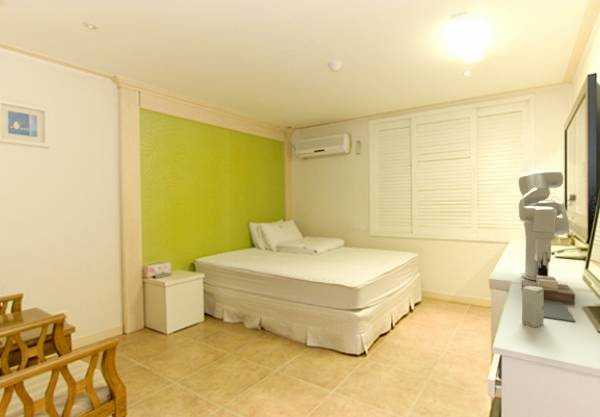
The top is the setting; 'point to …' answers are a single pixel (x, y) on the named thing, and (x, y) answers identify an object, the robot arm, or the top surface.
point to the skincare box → (532, 306)
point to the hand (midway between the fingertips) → (542, 276)
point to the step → (555, 293)
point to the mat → (557, 311)
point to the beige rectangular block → (547, 283)
